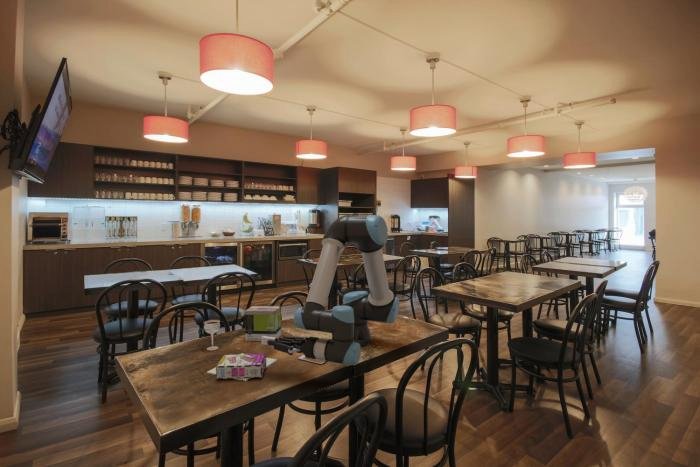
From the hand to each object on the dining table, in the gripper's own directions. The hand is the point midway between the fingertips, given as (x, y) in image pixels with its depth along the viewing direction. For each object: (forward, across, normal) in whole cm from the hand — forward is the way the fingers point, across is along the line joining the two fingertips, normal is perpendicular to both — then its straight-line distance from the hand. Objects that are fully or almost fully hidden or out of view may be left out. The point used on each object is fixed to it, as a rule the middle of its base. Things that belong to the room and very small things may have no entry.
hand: (262, 340), depth 137 cm
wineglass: (+35, +12, -12) cm, 39 cm away
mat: (+9, 0, -12) cm, 15 cm away
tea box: (+22, +31, -12) cm, 40 cm away
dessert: (-13, +20, -13) cm, 27 cm away
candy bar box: (-2, -1, -9) cm, 9 cm away
